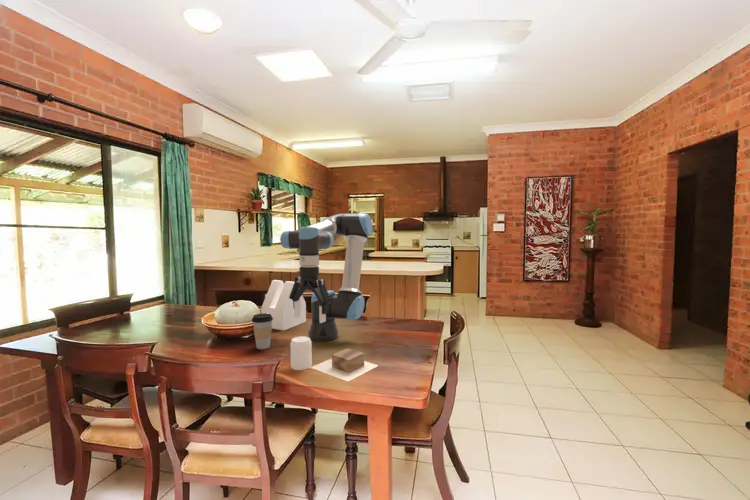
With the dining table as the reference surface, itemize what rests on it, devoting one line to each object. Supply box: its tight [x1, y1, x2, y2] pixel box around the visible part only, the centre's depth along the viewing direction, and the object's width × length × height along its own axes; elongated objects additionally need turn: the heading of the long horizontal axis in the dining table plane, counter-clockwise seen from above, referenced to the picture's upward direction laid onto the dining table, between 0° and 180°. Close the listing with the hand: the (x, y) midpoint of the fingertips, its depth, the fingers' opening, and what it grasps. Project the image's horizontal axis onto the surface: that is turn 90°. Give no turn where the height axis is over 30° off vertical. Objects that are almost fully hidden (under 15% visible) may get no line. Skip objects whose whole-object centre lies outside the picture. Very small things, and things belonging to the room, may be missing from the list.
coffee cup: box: [251, 313, 273, 350], centre depth 162 cm, size 9×9×15 cm
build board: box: [309, 357, 379, 382], centre depth 137 cm, size 20×18×1 cm
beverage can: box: [290, 335, 313, 371], centre depth 137 cm, size 8×8×12 cm
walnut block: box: [331, 347, 365, 373], centre depth 137 cm, size 9×9×5 cm
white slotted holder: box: [261, 279, 307, 331], centre depth 199 cm, size 19×15×25 cm
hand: (309, 319), depth 137 cm, fingers open, 13 cm apart
